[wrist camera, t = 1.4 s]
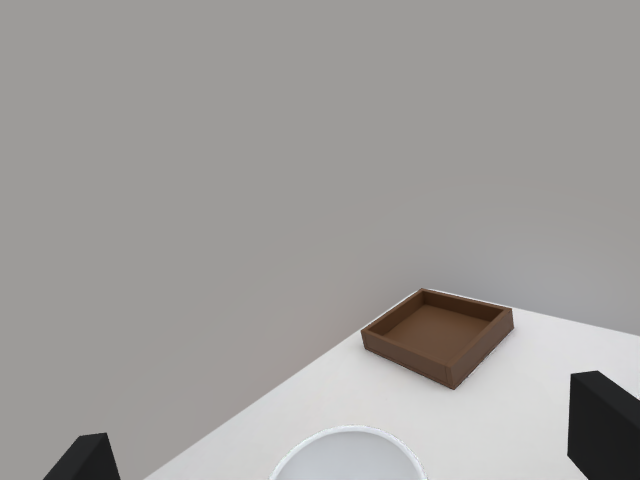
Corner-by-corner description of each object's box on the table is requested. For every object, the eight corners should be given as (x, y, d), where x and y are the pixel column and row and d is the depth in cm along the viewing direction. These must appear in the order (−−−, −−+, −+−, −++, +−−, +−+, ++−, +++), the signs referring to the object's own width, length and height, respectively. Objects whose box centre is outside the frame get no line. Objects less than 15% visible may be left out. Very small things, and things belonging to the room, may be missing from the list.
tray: (514, 328, 47) (512, 308, 46) (454, 390, 39) (450, 367, 39) (424, 304, 59) (421, 288, 58) (364, 348, 51) (360, 330, 50)
